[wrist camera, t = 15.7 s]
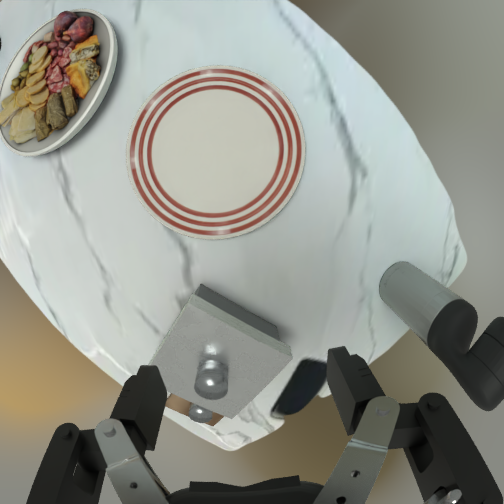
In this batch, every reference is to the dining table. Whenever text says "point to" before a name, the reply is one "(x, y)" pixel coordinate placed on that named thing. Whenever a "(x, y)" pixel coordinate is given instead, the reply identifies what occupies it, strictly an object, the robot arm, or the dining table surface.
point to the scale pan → (218, 356)
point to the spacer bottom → (211, 380)
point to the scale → (237, 311)
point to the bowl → (56, 81)
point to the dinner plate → (215, 152)
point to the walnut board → (187, 408)
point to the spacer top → (199, 413)
